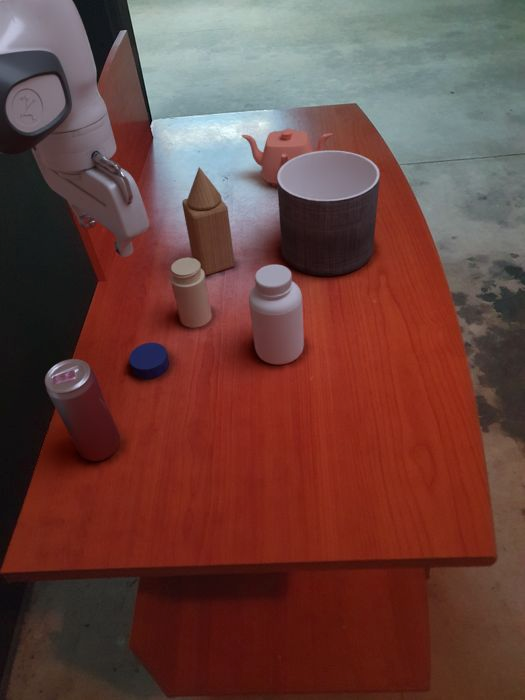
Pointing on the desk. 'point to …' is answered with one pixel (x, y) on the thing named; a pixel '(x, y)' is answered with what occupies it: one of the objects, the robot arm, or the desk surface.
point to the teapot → (282, 150)
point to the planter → (328, 211)
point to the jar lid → (149, 360)
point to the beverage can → (83, 409)
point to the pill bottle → (276, 315)
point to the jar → (190, 292)
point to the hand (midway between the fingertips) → (106, 239)
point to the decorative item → (208, 226)
